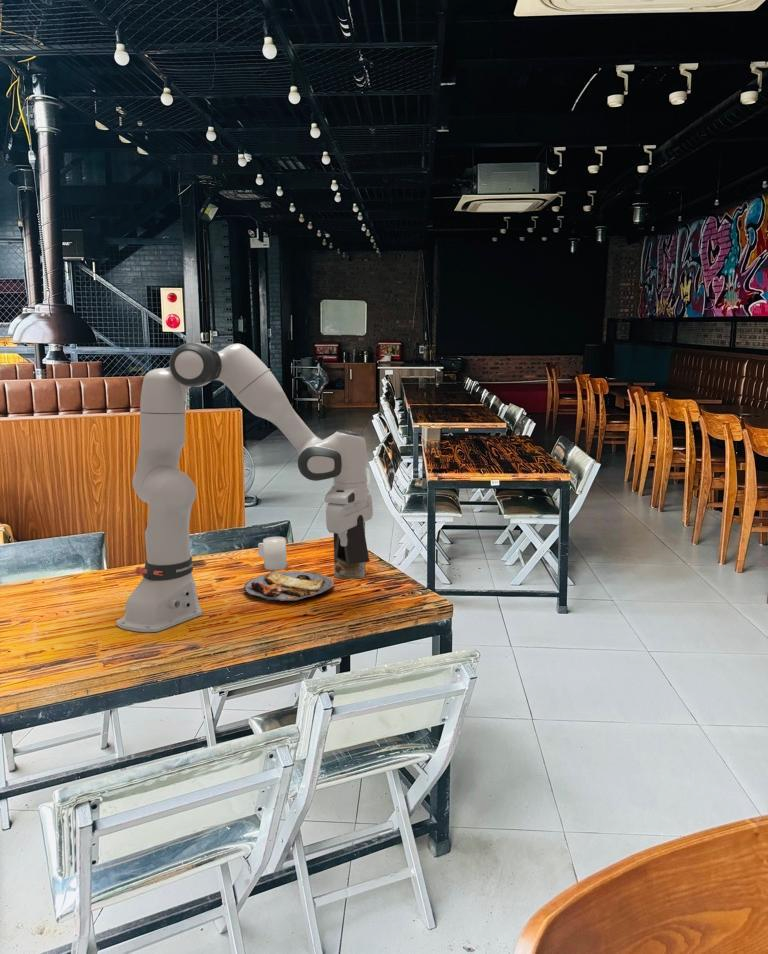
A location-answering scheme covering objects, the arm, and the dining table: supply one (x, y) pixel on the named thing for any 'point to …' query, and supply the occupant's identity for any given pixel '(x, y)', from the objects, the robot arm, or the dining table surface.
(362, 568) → the coffee box
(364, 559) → the door stopper
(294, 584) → the food plate
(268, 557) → the white ceramic cup
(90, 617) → the dining table surface
